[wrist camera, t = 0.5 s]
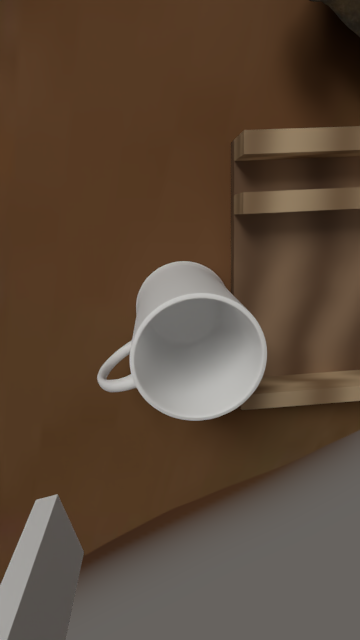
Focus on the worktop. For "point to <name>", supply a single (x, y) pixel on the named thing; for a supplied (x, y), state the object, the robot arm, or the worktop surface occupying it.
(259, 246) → the rack
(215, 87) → the worktop surface
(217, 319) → the mug
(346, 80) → the worktop surface
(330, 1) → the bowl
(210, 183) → the worktop surface
